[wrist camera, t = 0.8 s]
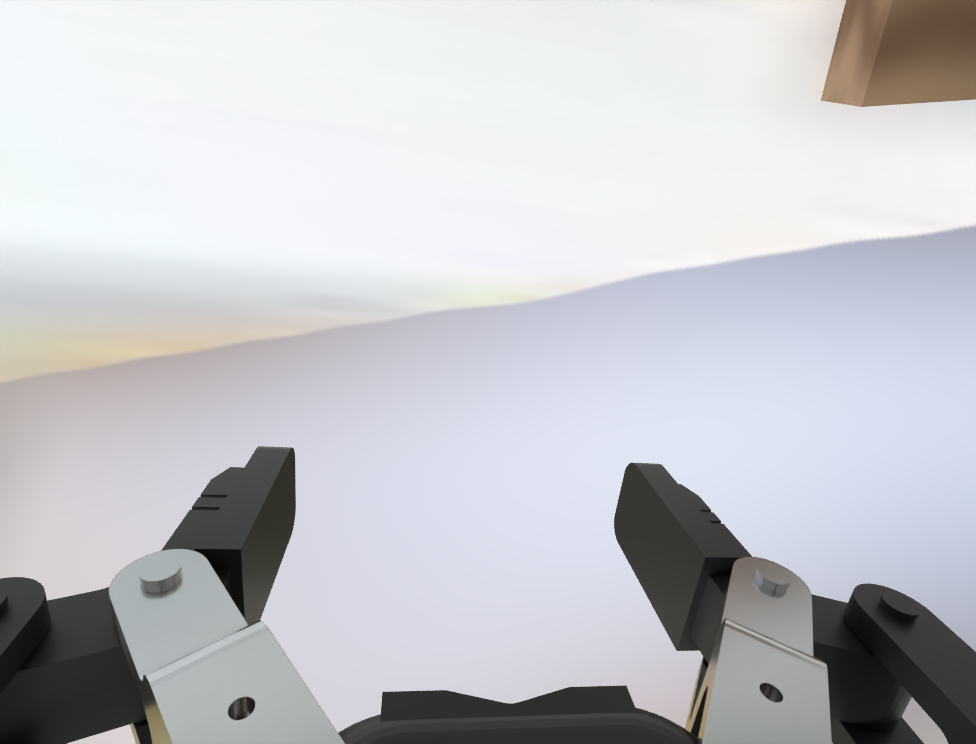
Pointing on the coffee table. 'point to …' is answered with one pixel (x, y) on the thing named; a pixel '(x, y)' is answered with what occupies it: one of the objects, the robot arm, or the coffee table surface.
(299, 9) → the coffee table surface
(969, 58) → the walnut box
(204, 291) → the coffee table surface
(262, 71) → the coffee table surface
